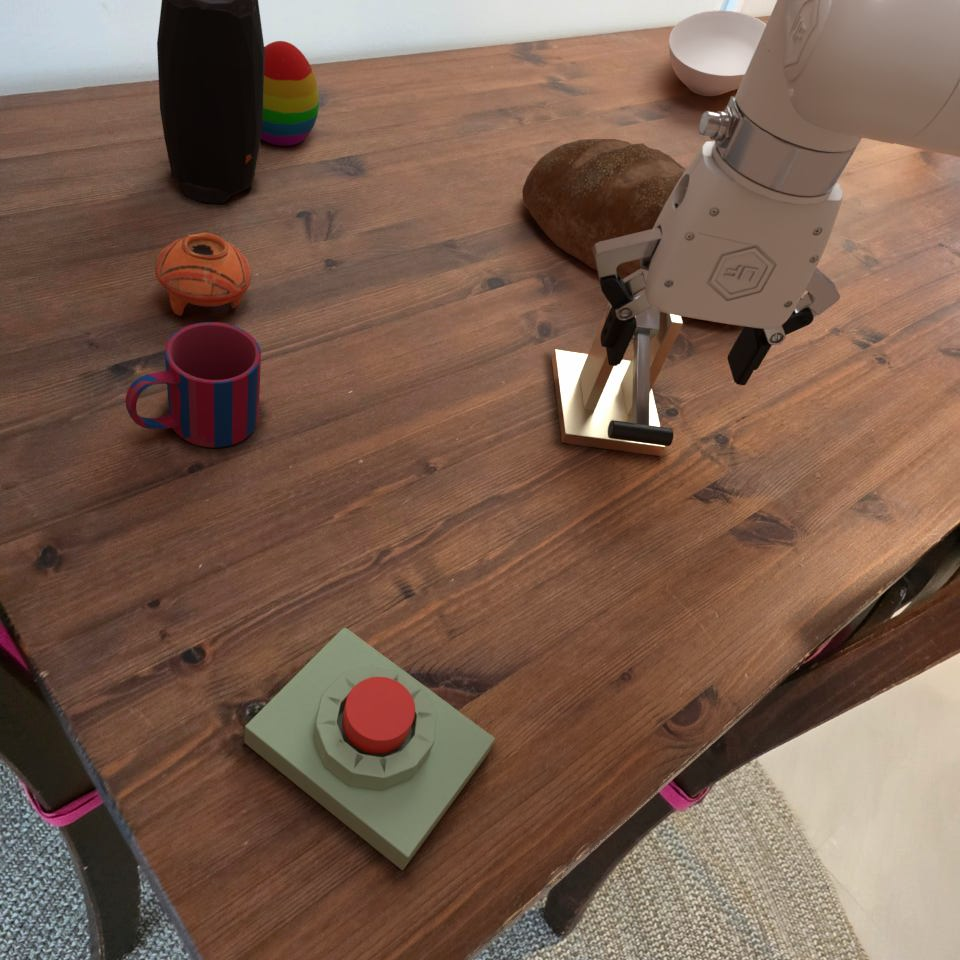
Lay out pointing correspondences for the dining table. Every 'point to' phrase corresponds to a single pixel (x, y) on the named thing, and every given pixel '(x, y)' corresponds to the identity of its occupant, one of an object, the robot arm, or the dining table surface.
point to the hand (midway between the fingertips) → (673, 362)
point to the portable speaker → (211, 94)
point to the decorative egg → (288, 95)
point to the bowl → (714, 50)
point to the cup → (206, 385)
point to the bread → (599, 194)
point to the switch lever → (642, 388)
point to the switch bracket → (606, 390)
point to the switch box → (357, 774)
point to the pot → (202, 272)
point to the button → (378, 715)
